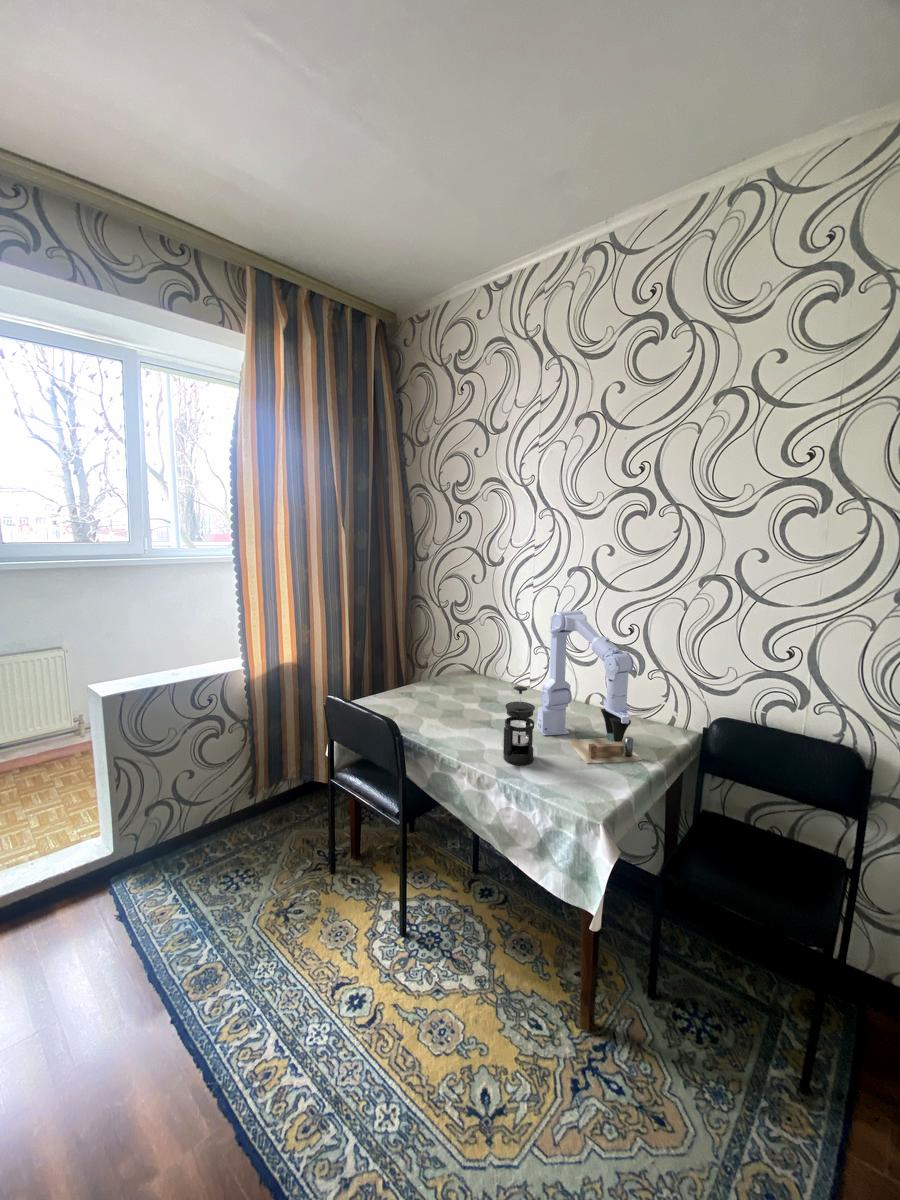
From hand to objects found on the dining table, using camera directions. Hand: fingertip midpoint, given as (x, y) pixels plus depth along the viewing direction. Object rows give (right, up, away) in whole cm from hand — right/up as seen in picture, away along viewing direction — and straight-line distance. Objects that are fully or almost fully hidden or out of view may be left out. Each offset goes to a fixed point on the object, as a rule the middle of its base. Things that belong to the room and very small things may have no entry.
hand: (614, 737), depth 146 cm
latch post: (+5, -7, +19) cm, 21 cm away
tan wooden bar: (0, -8, +7) cm, 10 cm away
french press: (-28, -9, +6) cm, 30 cm away
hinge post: (+7, -8, +8) cm, 14 cm away
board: (0, -8, +12) cm, 14 cm away
